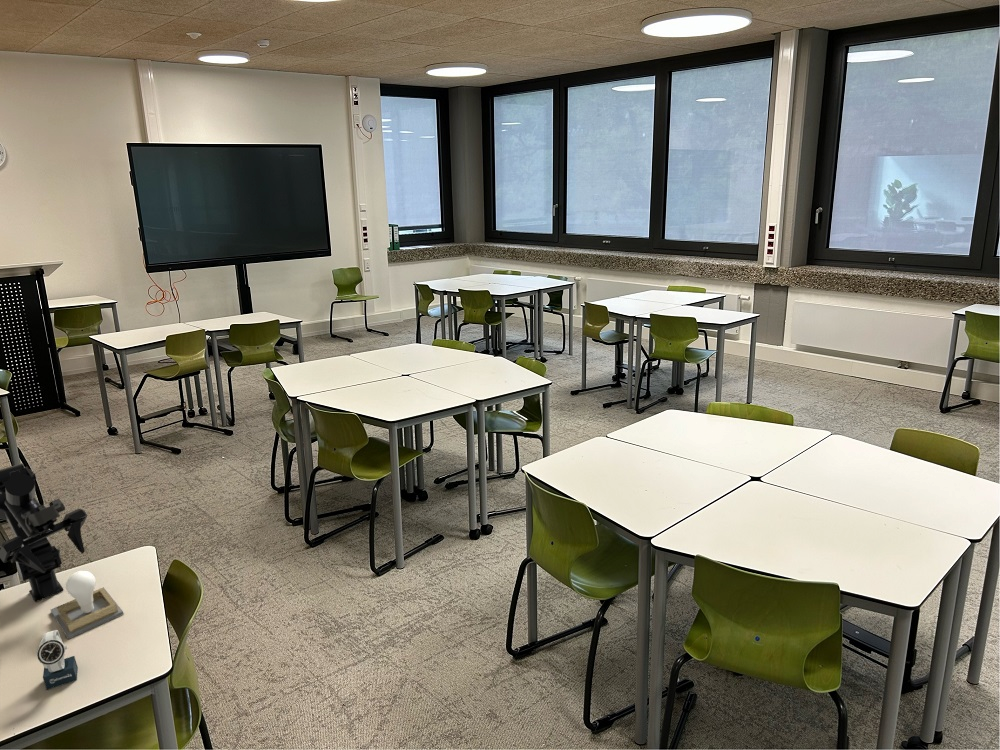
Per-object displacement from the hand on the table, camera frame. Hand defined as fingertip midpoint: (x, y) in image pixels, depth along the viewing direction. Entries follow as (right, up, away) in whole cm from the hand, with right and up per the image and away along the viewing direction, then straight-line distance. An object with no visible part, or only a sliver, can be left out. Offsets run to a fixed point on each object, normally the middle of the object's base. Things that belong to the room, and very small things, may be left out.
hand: (64, 562), depth 168 cm
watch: (+11, -20, -19) cm, 30 cm away
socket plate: (+4, -13, +3) cm, 14 cm away
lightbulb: (+5, -13, +2) cm, 14 cm away
